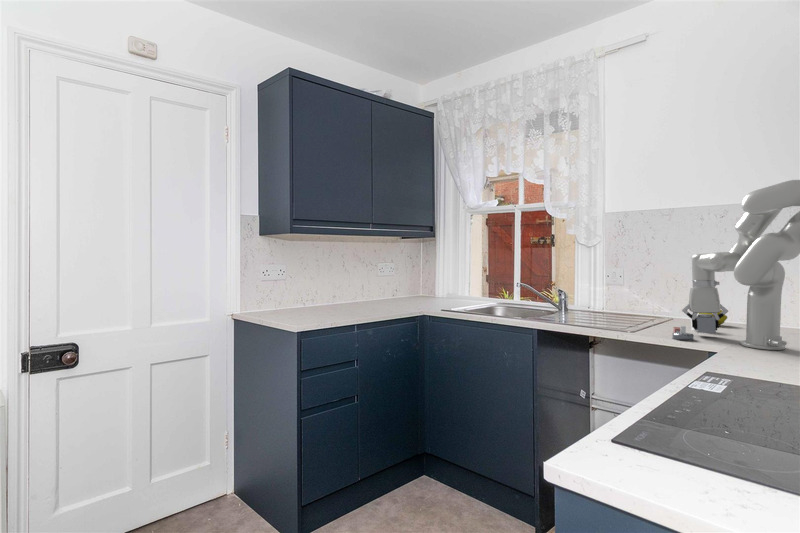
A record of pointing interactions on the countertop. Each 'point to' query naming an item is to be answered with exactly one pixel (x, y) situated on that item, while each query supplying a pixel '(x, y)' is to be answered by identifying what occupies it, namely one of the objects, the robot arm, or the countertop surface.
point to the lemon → (720, 318)
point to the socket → (705, 323)
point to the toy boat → (681, 334)
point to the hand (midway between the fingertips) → (705, 329)
